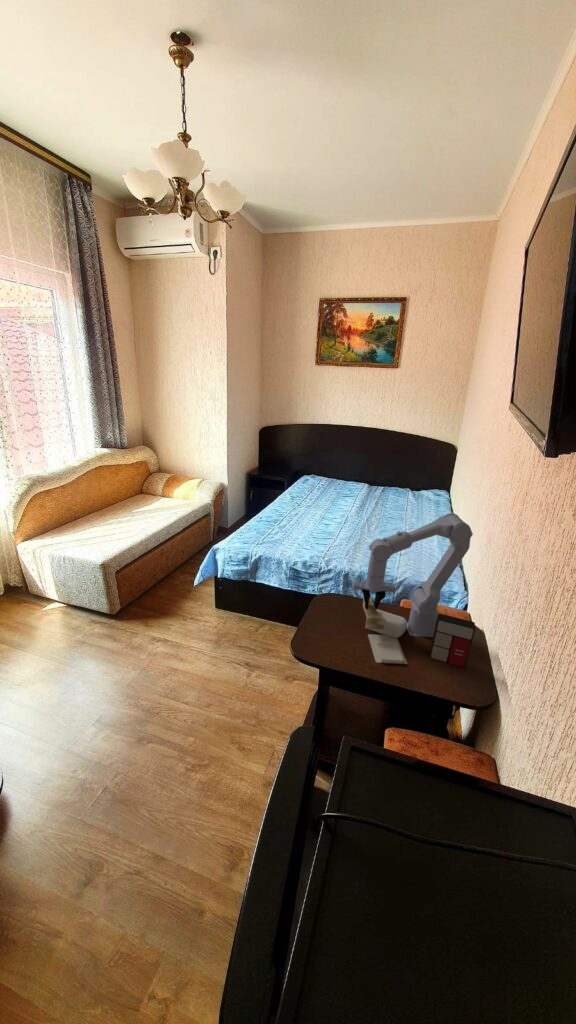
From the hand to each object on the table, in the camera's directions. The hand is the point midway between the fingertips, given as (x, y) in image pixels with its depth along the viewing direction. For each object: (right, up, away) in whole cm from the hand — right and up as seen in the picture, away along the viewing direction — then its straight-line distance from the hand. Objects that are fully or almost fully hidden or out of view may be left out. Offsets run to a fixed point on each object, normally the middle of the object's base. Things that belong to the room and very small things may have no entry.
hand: (370, 608), depth 142 cm
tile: (+4, -10, -7) cm, 13 cm away
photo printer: (+1, -5, +5) cm, 7 cm away
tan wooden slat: (0, -3, 0) cm, 3 cm away
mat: (+4, -12, -8) cm, 15 cm away
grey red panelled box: (+23, -15, -11) cm, 29 cm away
